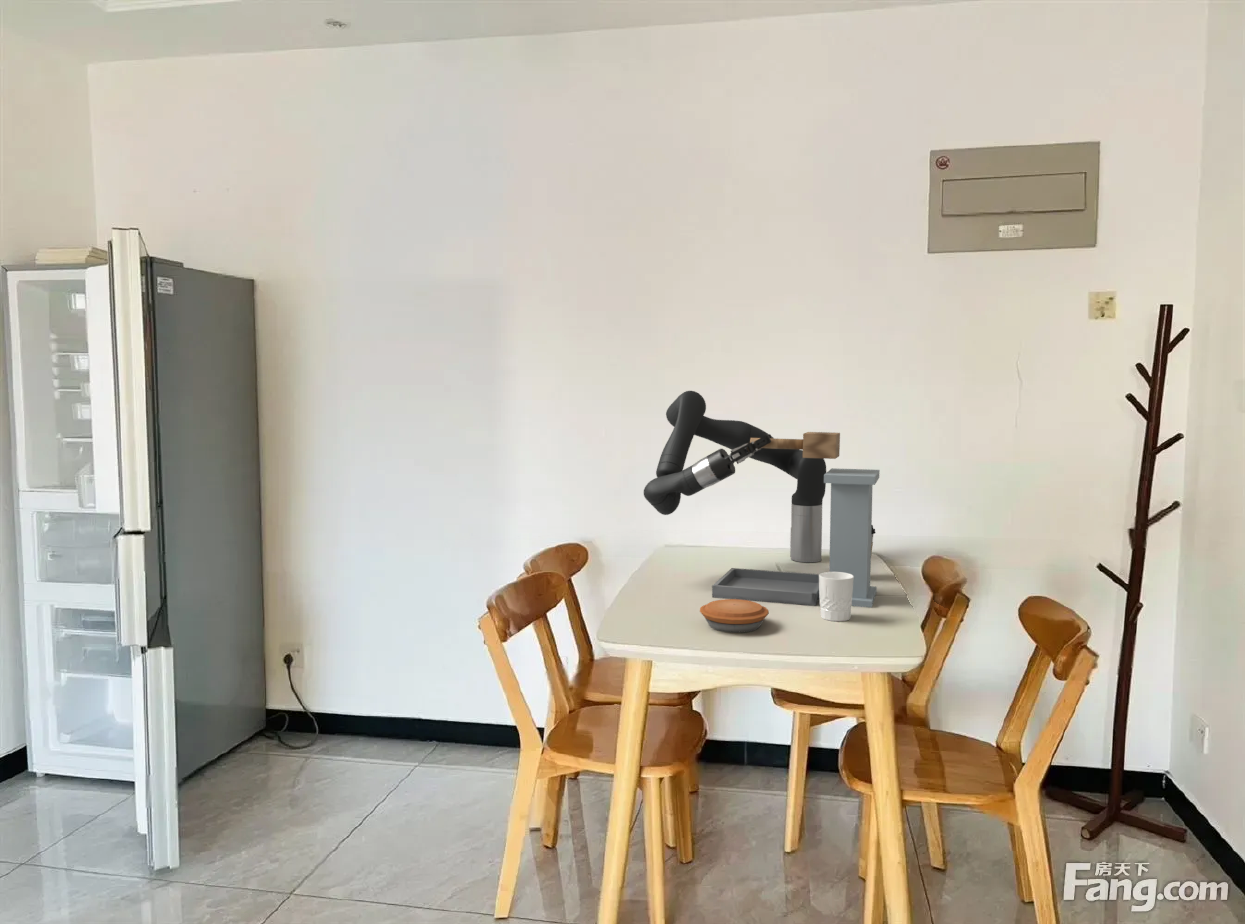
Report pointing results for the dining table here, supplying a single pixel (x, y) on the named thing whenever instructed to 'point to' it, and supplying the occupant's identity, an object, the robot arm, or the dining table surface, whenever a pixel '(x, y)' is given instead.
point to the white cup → (835, 595)
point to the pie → (734, 615)
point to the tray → (768, 586)
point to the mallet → (810, 444)
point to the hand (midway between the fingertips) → (770, 437)
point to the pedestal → (852, 528)
